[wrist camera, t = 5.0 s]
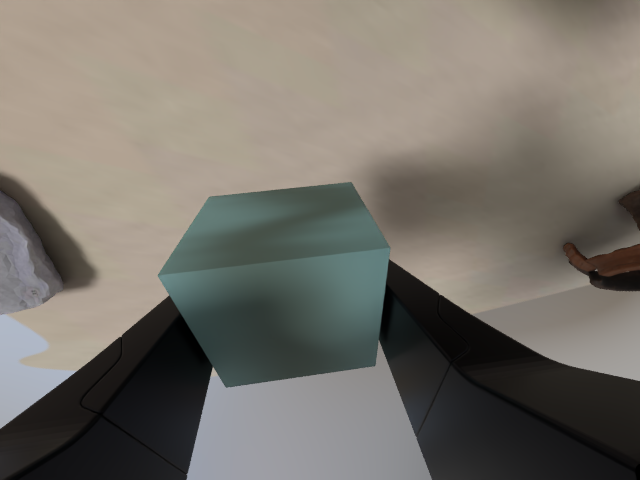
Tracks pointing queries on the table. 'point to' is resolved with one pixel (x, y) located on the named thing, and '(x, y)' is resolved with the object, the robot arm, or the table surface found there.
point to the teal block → (282, 282)
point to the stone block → (23, 262)
